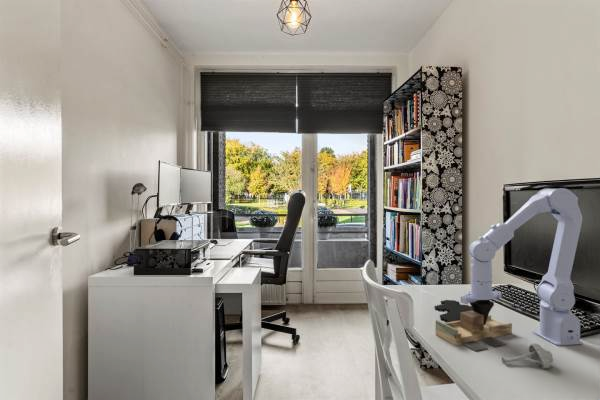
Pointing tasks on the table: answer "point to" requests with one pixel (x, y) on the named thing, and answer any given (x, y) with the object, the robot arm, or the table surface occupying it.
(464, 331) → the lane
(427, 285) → the table surface
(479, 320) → the walnut block
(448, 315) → the black pixelated cutout
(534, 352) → the mushroom
